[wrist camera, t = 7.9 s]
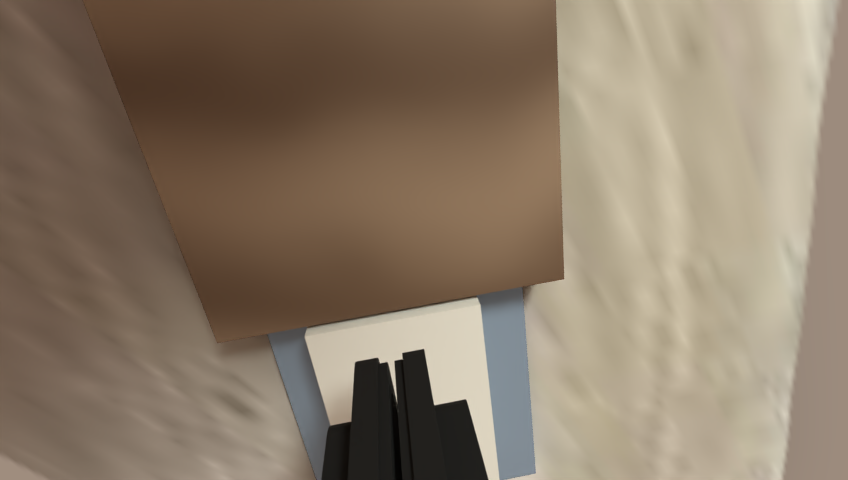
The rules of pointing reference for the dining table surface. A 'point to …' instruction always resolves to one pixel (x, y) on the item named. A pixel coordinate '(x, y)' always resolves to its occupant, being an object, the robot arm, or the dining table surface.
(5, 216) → the dining table surface
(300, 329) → the mat
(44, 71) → the dining table surface
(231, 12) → the plate
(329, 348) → the cream rectangular block
